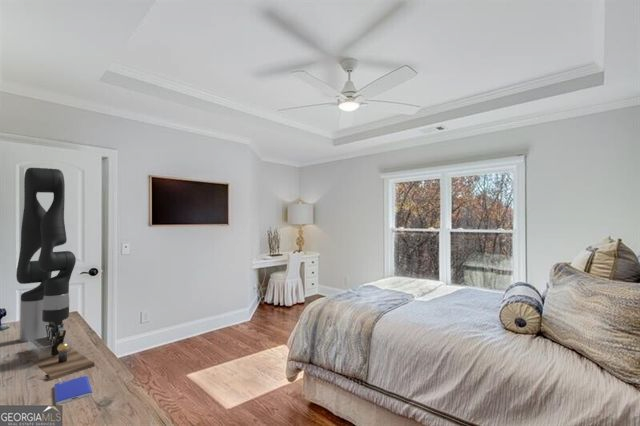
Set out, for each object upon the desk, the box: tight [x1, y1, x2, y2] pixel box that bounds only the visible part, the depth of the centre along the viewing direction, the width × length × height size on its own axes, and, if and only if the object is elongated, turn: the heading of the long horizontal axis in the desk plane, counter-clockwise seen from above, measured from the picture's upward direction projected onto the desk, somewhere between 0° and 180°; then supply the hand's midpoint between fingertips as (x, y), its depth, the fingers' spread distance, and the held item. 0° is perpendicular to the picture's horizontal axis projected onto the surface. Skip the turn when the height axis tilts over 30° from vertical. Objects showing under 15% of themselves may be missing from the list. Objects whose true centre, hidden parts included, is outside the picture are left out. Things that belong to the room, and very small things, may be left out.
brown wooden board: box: [22, 347, 95, 381], centre depth 114 cm, size 32×12×1 cm, turn 55°
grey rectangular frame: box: [27, 336, 72, 360], centre depth 119 cm, size 14×9×4 cm, turn 55°
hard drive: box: [53, 375, 93, 406], centre depth 94 cm, size 2×8×12 cm
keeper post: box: [57, 343, 69, 363], centre depth 110 cm, size 3×3×6 cm
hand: (54, 354), depth 115 cm, fingers closed on grey rectangular frame, 1 cm apart
